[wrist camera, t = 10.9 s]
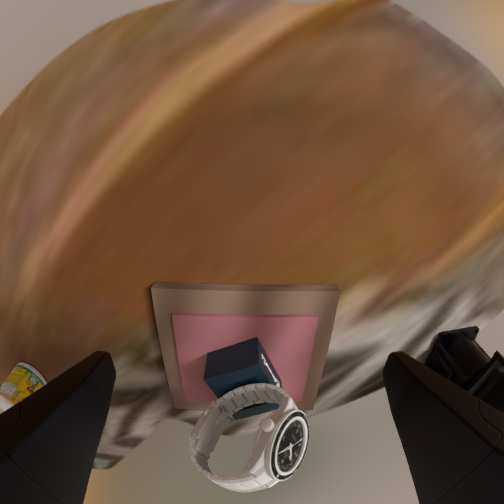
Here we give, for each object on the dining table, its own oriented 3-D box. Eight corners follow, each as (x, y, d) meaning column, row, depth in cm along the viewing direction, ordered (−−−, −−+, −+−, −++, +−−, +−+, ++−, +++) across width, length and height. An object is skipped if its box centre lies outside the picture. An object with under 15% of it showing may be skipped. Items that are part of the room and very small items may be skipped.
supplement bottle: (12, 356, 25) (-24, 404, 16) (40, 366, 25) (4, 421, 16) (26, 385, 27) (-3, 433, 18) (55, 396, 27) (26, 449, 18)
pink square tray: (336, 284, 22) (341, 293, 21) (311, 402, 27) (313, 412, 26) (154, 282, 22) (149, 290, 20) (175, 400, 27) (173, 410, 25)
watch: (302, 373, 23) (326, 484, 13) (218, 398, 24) (211, 503, 14) (280, 327, 22) (303, 453, 11) (188, 357, 23) (164, 474, 12)
